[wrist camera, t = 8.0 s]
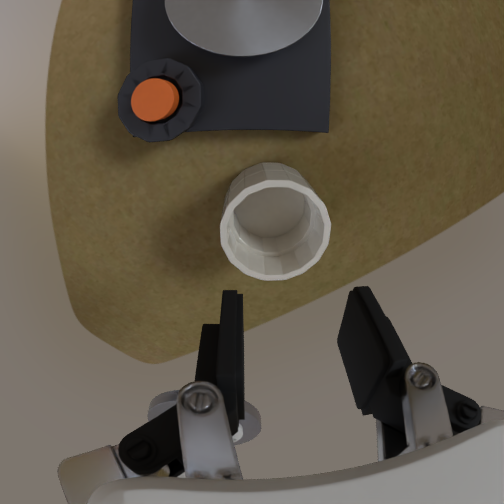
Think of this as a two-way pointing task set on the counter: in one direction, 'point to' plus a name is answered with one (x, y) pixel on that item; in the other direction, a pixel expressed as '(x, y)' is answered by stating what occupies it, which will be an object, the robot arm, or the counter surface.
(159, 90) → the tare button
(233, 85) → the scale
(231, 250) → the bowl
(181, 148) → the counter surface
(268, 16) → the brushed metal disc
